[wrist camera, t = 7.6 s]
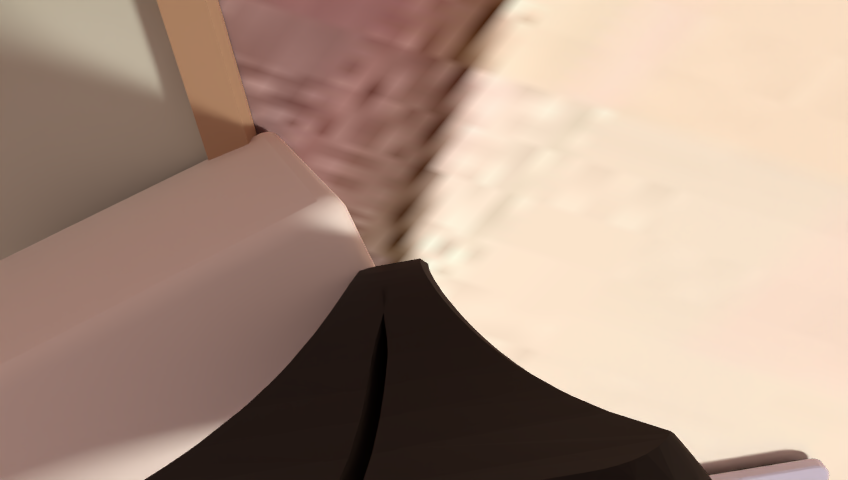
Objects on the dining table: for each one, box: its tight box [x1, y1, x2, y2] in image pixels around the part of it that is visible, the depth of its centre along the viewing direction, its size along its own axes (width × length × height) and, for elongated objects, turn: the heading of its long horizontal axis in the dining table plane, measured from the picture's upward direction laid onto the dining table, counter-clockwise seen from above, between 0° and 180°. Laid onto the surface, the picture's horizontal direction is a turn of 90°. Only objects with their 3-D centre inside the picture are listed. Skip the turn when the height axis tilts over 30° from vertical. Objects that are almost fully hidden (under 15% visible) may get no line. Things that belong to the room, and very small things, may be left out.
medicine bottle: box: [0, 132, 375, 480], centre depth 14 cm, size 7×7×12 cm
